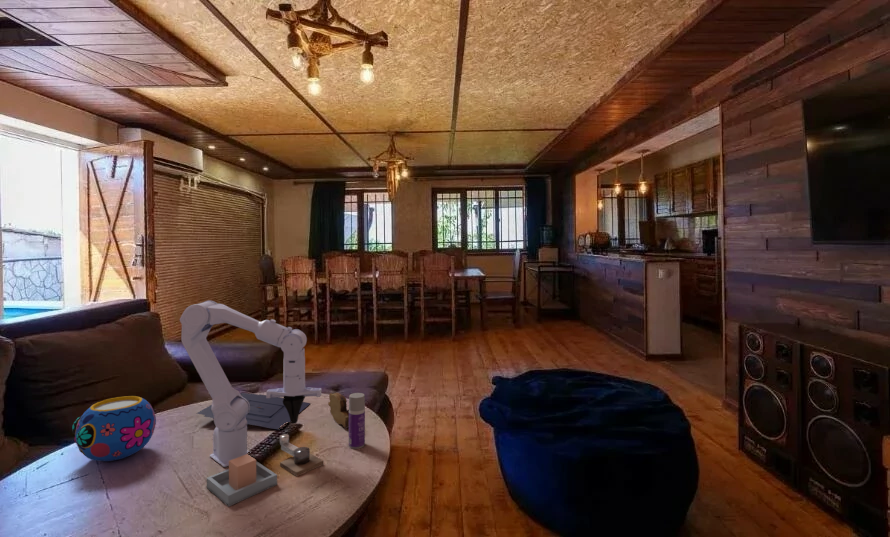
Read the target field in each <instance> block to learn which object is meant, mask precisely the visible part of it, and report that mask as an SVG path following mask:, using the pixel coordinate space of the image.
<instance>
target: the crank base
mask: <svg viewBox="0 0 890 537" xmlns="http://www.w3.org/2000/svg"><path fill="white" fill-rule="evenodd" d="M323 465H324V460H323V459H321V458H319V457H317V456H316V455H314V454H313V453H310V460H309V461H308V462H307V463H304V464H296V463H294V456H292V457H290V458H287V459H284V460H282V461H280V462H279V466H280V467H281V468H283V469H284V470H286V471H287V472H289V473H291V474H292V475H294V476H296V477H298V476H300V475H303V474H305V473H307V472H310V471H312V470H313V469H316V468H319V467H321V466H323Z"/></svg>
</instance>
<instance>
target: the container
mask: <svg viewBox="0 0 890 537" xmlns="http://www.w3.org/2000/svg"><path fill="white" fill-rule="evenodd" d="M365 402H366V398H365V393H362V392H354V393H351V394H349V396H348V410H349V427H348V447H349V448H350V449H353V450H355V449H356V450H357V449H362V448H364V447H365V443H366V442H365V441H366V440H365V439H366V432H365V431H366V430H365V429H366V404H365Z"/></svg>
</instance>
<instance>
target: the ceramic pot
mask: <svg viewBox="0 0 890 537" xmlns="http://www.w3.org/2000/svg"><path fill="white" fill-rule="evenodd" d="M156 424H157V417H156V414H155V410H154V408H153V406H152V404H151V403H150V402H149V401H147V399H145V398H143V397H140V396H136V395H128V396H117V397H112V398H107V399H103V400H101V401H100V400H99V401H97V402H96V403H94V404H92V405H91V406H90V407H89V408H87V409H86V410H85V411H84V412H83V414H82V415H80V416H79V417H77V418H76V419H75V420H74V422H73V424H72V429H71V430H72V433H73V435H74V443H75V444H76V445H77V448H78V450H79V452H80V453H81V454H82V455H83V456H84V457H86V458H87V459H88V460H92V461H97V462H98V461H99V462H113V461H118V460H122V459H125V458H127V457H131V456H132V455H135V454H136V453H137V452H139V451H140V450H142V449H143V448H145V447H146V446H147V444H148V443H149V442H150V440H151V438H152V436H153V435H154V433H155V429H156Z"/></svg>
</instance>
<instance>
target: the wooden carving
mask: <svg viewBox="0 0 890 537" xmlns="http://www.w3.org/2000/svg"><path fill="white" fill-rule="evenodd" d="M328 397H329V398H328V399H329V401H328V406H329V407H330V410H329V411H330V414H331V416H332V418H333V420H334V421H335V422H336V425H339V426H341V425H342V427H343V428H344V429H346V428H349V409H348V408H347V406H348V405H347V402H348V401H347V398H346V396H344V395H343V394H341V393H340V392H331V393H329V394H328Z"/></svg>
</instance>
